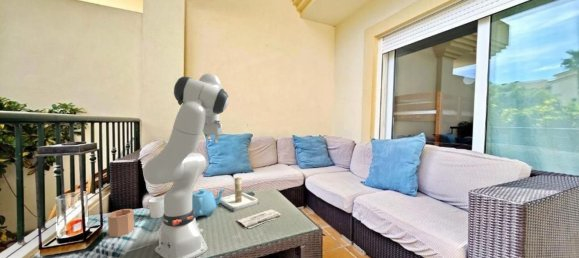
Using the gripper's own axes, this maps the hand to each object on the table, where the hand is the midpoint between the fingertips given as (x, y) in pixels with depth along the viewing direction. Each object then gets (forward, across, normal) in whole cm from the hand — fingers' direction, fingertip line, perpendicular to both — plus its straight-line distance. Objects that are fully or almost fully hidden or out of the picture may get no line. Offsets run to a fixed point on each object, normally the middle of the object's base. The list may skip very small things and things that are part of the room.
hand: (212, 142), depth 143 cm
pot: (+39, -7, +49) cm, 63 cm away
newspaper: (+40, -40, -8) cm, 57 cm away
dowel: (+38, -12, -11) cm, 41 cm away
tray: (+39, -12, -11) cm, 42 cm away
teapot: (+39, -12, +12) cm, 43 cm away
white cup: (+39, +1, +32) cm, 51 cm away
